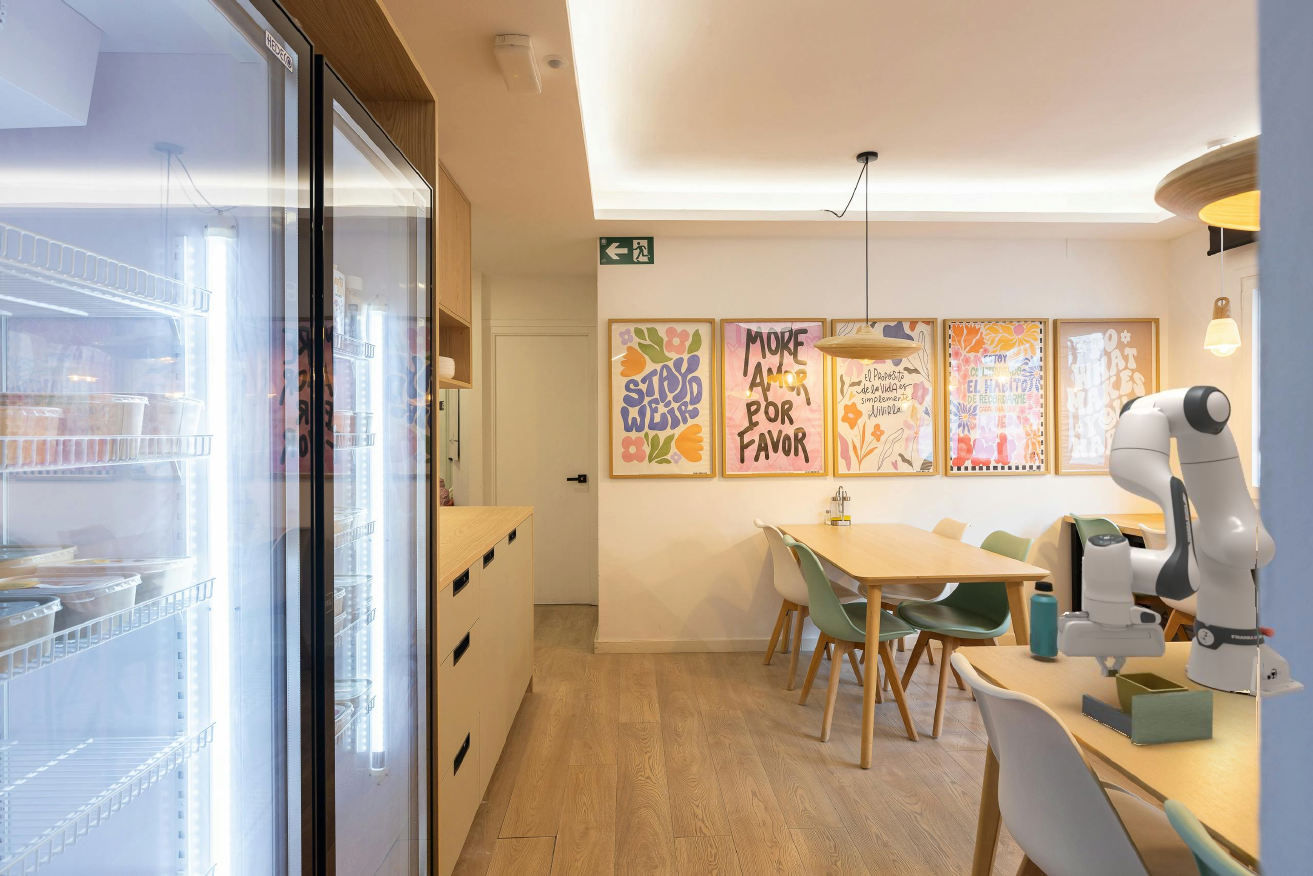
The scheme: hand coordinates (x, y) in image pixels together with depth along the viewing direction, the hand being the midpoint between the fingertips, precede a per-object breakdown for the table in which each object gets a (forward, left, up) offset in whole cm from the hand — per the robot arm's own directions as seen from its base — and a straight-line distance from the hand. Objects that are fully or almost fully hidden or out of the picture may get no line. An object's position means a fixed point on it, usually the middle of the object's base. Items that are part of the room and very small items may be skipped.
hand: (1110, 676), depth 143 cm
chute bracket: (+1, +8, -7) cm, 11 cm away
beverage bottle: (-9, -30, -7) cm, 32 cm away
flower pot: (-1, +8, -7) cm, 11 cm away
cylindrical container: (-27, -32, -7) cm, 42 cm away
